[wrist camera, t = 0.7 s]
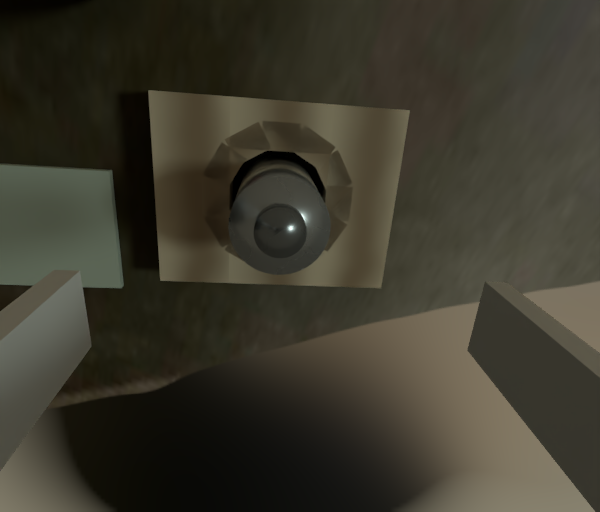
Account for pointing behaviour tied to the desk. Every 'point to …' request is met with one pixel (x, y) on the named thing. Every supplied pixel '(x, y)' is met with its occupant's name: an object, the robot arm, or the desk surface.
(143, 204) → the desk surface
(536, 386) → the robot arm
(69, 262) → the mat
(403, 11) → the desk surface
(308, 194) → the gray knobbed peg
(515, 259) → the desk surface
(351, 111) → the housing
